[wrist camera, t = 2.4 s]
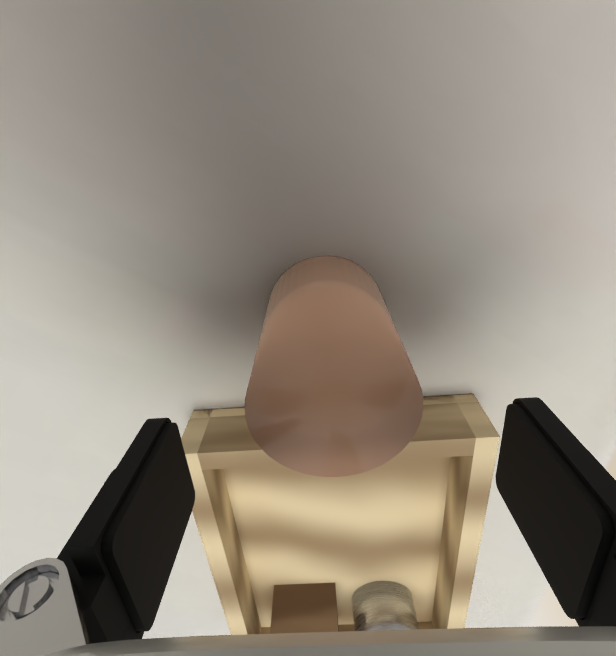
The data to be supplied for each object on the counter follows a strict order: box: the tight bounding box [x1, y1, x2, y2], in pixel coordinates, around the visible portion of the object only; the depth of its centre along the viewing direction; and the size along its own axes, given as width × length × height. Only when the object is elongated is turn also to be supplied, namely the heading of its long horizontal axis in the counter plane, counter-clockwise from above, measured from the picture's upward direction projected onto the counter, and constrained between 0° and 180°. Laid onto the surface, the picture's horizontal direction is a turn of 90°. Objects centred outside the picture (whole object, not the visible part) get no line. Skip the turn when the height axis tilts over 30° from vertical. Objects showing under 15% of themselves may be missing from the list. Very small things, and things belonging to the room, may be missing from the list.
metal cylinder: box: [352, 581, 419, 631], centre depth 24 cm, size 4×4×4 cm
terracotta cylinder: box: [245, 256, 423, 477], centre depth 14 cm, size 5×5×7 cm
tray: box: [181, 394, 500, 635], centre depth 23 cm, size 20×14×3 cm
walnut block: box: [270, 583, 339, 634], centre depth 24 cm, size 4×4×4 cm
